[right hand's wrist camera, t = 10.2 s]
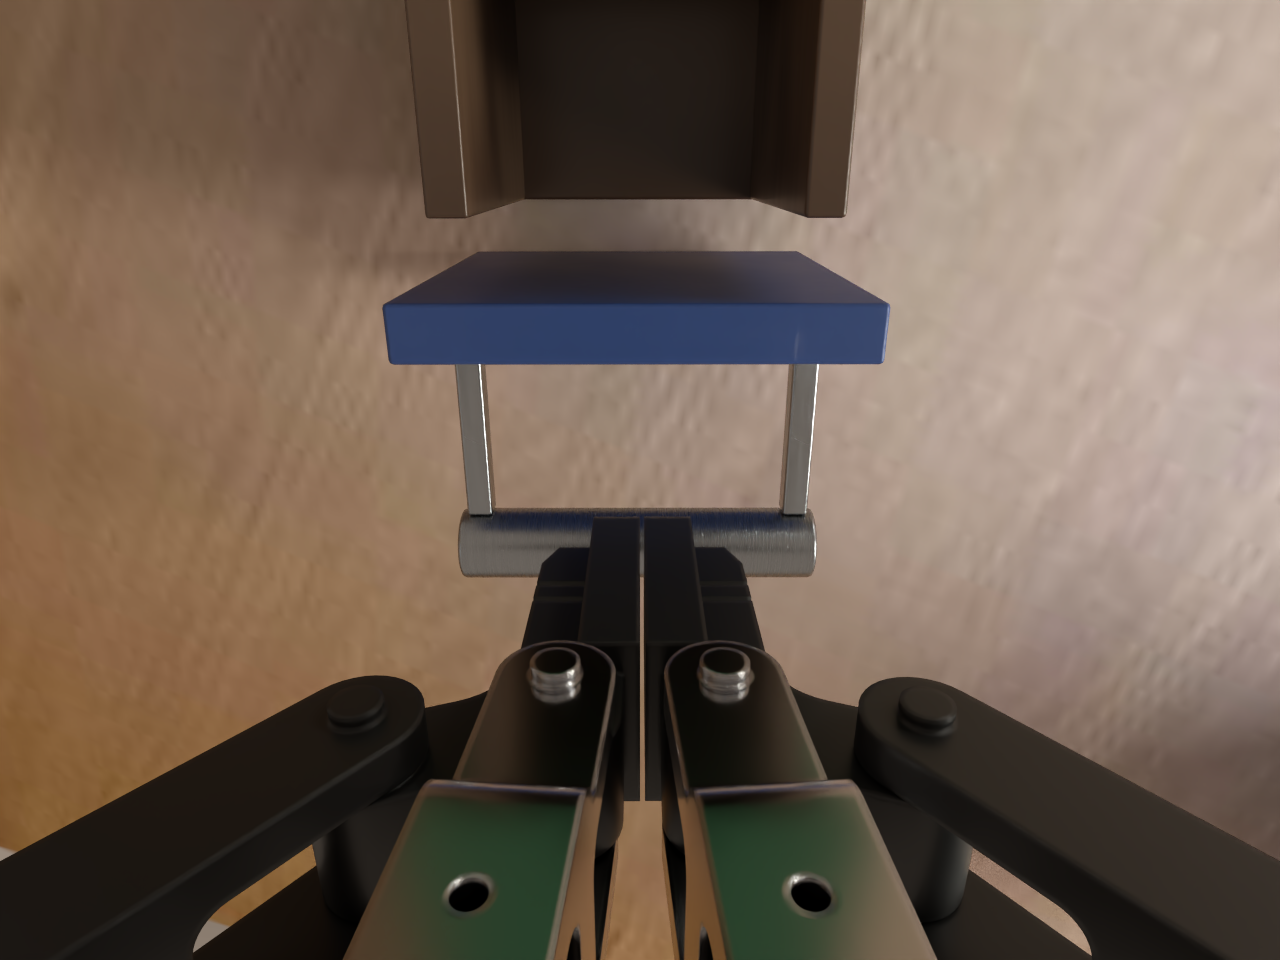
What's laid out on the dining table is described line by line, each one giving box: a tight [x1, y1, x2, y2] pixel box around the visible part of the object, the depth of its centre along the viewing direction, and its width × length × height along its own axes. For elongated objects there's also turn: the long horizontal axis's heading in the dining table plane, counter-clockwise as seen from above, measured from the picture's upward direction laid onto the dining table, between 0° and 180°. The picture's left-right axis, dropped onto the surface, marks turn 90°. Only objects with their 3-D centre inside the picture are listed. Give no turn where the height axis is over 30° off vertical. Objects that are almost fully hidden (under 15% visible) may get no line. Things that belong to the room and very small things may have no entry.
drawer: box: [383, 0, 890, 577], centre depth 18 cm, size 25×10×10 cm, turn 0°
